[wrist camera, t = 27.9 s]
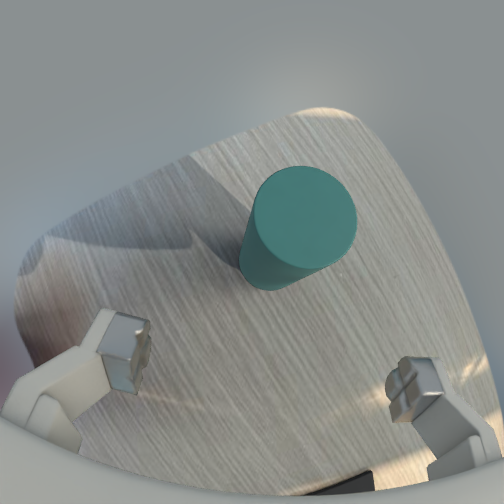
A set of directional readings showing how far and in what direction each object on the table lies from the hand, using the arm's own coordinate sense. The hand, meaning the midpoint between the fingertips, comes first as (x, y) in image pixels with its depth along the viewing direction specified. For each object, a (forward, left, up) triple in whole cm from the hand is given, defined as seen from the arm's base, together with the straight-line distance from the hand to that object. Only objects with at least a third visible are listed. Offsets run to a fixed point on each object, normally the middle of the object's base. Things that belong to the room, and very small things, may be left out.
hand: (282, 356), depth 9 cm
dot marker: (+2, +4, -10) cm, 11 cm away
